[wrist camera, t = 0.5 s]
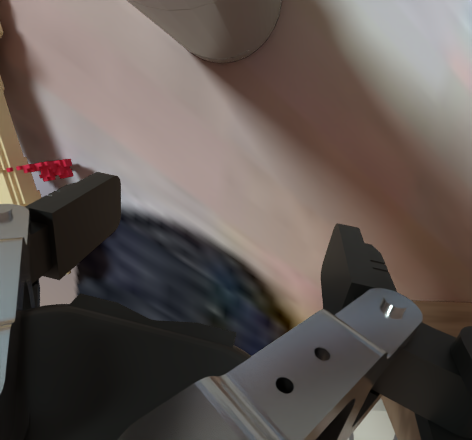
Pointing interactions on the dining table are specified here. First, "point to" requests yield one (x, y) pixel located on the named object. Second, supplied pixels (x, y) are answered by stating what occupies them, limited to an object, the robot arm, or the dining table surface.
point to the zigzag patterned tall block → (441, 318)
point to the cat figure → (21, 163)
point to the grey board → (375, 425)
